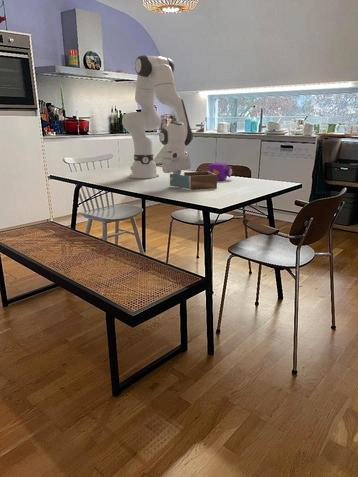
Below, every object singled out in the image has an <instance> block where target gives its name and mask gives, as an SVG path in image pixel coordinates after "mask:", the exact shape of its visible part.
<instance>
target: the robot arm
mask: <svg viewBox="0 0 358 477" xmlns="http://www.w3.org/2000/svg"><path fill="white" fill-rule="evenodd" d="M134 69H135V72H136V73H137V76H136V83H135V84H136V85H135V93H134V94H135V95H134V99H135V102H136V103H137V105H139V106H140V108H141V111H132V112H127V113H124V115H123V117H122V122H121V124H122V127H123V128H124V129H125V130H126V131H127V132H128V134H130V137H131V139H132V141H133V147H134V149H133V150H134V154H133V160H134V161H133V163H131V164H132V165H130V170H131V172H130V173H129V178H130V179H153V178H157V177H160V174H158V173H157V164H156V162H155V161H154V153H153V142H152V140H151V139H150V138H149V137H148V136H146V133H145V132H146V131H155V130H159V128H160V127H161V125H162V117H161V115H160V114H159V112H157V110H156V107H155V98H156V99H157V101H158V102H159V103H161V104H163V105H164V106H167V107H170V108H172V109H173V110H174V111H175V112H176V115H177V118H178V120H171V121H170V122H169V123H168V125H167V126H166V127H163V128H161V130H159V131H160V132H159V134H158V135H159V137H158V138H159V142H160V143H161V144H162V145H163V146H168V149H167V150H166V151H165V152H163V153H162V154H161V157H162V158H163V159H162V161H161V162H162V163H161V164H162V172H163V173H164V174H176V175H182V174H181V173H182V171H186V170H190V169H191V157H190V153H189V152H188V151H186V146H187V147H188V146H189V145H190V143H192V141H193V139H194V134H193V131H192V128H191V125H190V122H189V118H188V115H187V111H186V107H185V103H184V100H183V97H181V96H180V95H179V93H178V91H177V89H176V88H177V87H176V83H175V77H174V76H175V75H174V70H175V64H174V62H173V59H171V58H169V57H167V56H159V55H145V54H144V55H139V56H138V57H137V58H136V59H135V61H134Z"/></svg>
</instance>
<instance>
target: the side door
mask: <svg viewBox="0 0 358 477" xmlns="http://www.w3.org/2000/svg"><path fill="white" fill-rule="evenodd" d="M169 186H171V187H174V188H175V187H176V188H181V189H182V188H183V189H187V190H192V189H191V176H184V174H183V175H182V174H180V175H176V174H173V173H169Z"/></svg>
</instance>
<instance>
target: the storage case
mask: <svg viewBox="0 0 358 477" xmlns="http://www.w3.org/2000/svg"><path fill="white" fill-rule="evenodd" d="M183 175H184V176H191V189H190V190H193V191H194V190H207V189H217V188H218V180H217V175H216V174H214V173H211V172H209V170H206V171H205V170H204V171H189V172H188V171H187V172H185V171H184V173H183Z"/></svg>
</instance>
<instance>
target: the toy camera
mask: <svg viewBox="0 0 358 477" xmlns="http://www.w3.org/2000/svg"><path fill="white" fill-rule="evenodd" d="M208 171H209V172H211V173H214V174H216V175H217V181H224V180H226V179H227V177H228V178H231V176H232V174H233V168H232V166H228V164H227V162H218V161H214V162H212V163H210V164H209V165H208Z"/></svg>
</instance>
